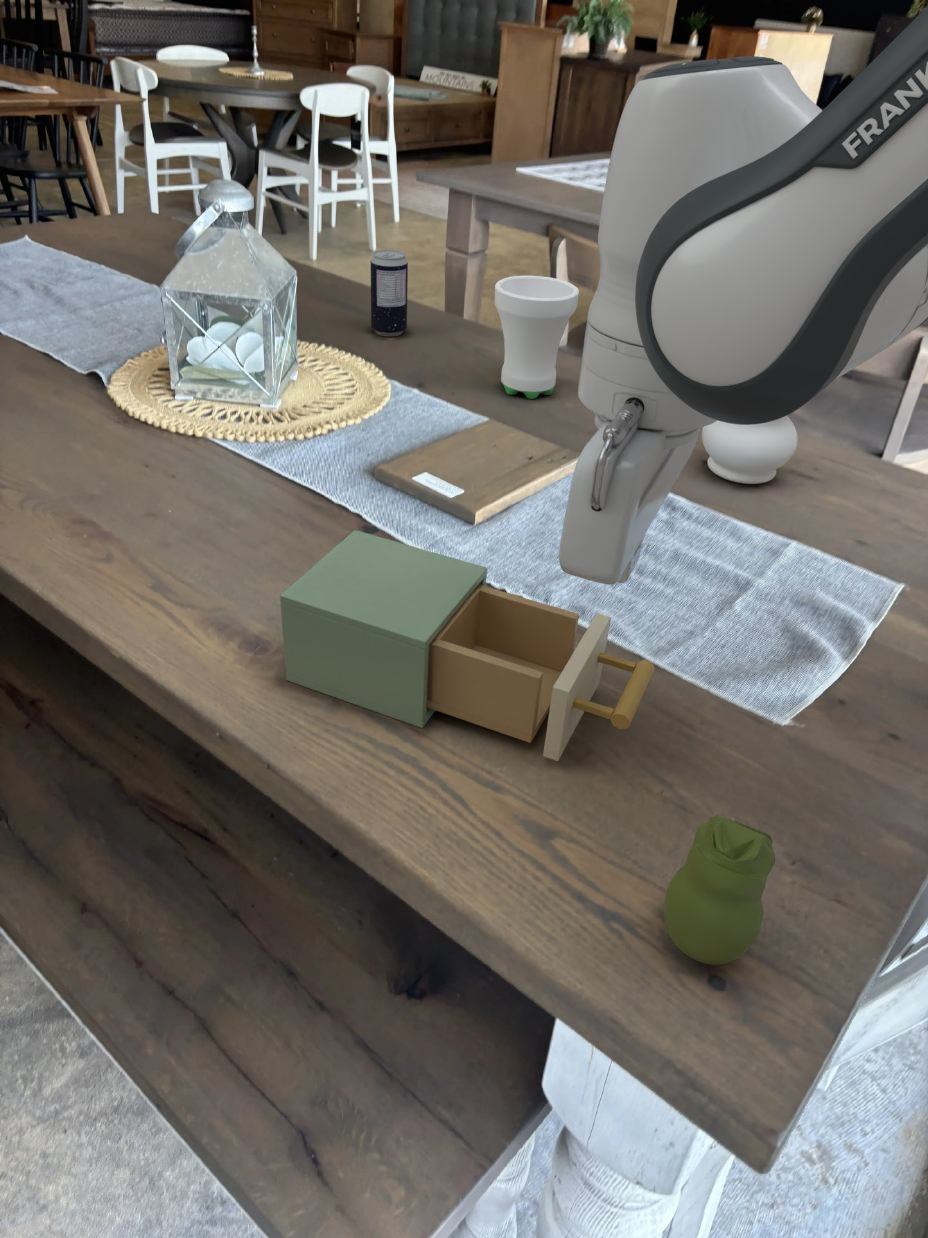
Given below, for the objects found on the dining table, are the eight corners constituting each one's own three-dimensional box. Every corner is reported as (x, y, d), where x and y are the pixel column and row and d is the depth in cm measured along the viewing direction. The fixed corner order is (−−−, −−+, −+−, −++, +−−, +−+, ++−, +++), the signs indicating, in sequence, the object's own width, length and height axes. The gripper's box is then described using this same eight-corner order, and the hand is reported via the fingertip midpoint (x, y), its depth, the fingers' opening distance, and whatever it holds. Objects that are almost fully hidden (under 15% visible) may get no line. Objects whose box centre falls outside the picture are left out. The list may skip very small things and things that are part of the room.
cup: (471, 384, 129) (477, 281, 120) (531, 370, 134) (540, 271, 126) (523, 411, 122) (533, 304, 113) (583, 395, 127) (597, 292, 119)
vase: (789, 463, 113) (849, 253, 98) (783, 501, 104) (848, 277, 90) (701, 446, 116) (747, 239, 101) (688, 481, 107) (737, 261, 93)
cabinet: (481, 649, 79) (487, 567, 74) (422, 728, 70) (425, 642, 65) (356, 609, 82) (354, 529, 78) (286, 680, 74) (279, 595, 69)
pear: (643, 953, 55) (674, 843, 49) (673, 892, 59) (704, 783, 53) (733, 998, 53) (776, 889, 47) (758, 932, 57) (801, 823, 51)
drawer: (650, 699, 73) (665, 632, 69) (614, 781, 65) (628, 711, 61) (472, 643, 78) (477, 577, 74) (419, 713, 70) (421, 644, 66)
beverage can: (413, 331, 146) (414, 253, 139) (394, 340, 142) (395, 260, 135) (383, 324, 148) (383, 246, 141) (364, 333, 144) (363, 254, 137)
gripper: (664, 452, 45) (622, 669, 53) (738, 336, 60) (697, 518, 68) (545, 425, 47) (522, 638, 55) (646, 320, 62) (616, 498, 70)
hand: (619, 570), depth 62 cm, fingers closed
